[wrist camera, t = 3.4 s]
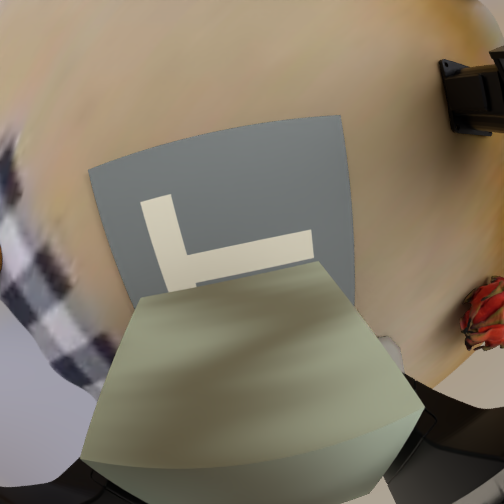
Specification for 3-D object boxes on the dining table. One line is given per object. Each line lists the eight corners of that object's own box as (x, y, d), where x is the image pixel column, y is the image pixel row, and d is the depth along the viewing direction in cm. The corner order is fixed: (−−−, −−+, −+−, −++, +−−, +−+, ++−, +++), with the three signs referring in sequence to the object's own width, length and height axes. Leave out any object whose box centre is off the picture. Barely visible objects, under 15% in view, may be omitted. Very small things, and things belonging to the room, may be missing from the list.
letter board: (336, 115, 15) (340, 115, 15) (350, 322, 21) (353, 327, 21) (92, 169, 15) (87, 169, 14) (163, 361, 21) (162, 366, 20)
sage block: (318, 260, 9) (425, 406, 3) (323, 380, 11) (369, 493, 5) (140, 297, 8) (79, 458, 3) (194, 404, 11) (192, 523, 5)
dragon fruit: (494, 288, 25) (433, 301, 26) (529, 257, 18) (471, 266, 19) (507, 346, 21) (446, 370, 22) (549, 324, 14) (493, 352, 15)
